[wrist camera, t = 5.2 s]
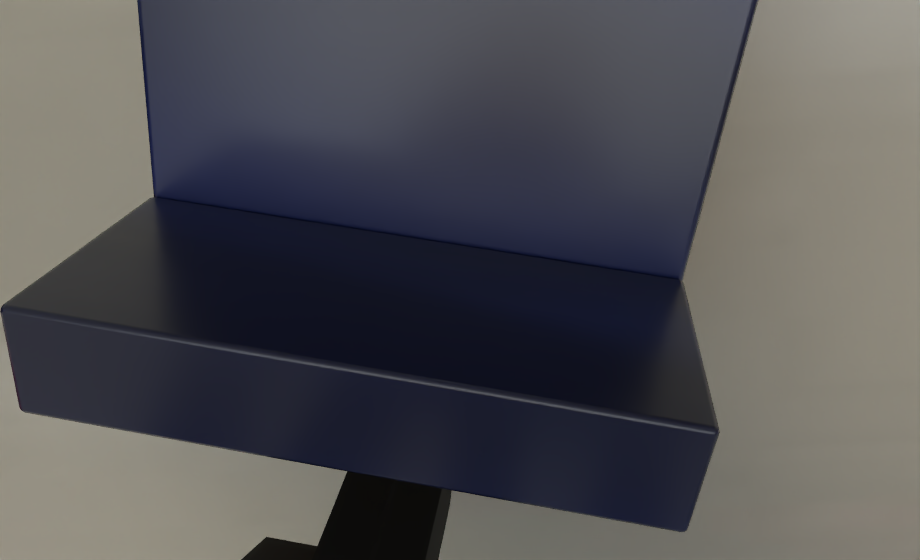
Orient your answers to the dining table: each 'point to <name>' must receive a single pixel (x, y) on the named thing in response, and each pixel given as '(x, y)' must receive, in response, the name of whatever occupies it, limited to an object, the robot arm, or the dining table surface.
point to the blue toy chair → (411, 246)
